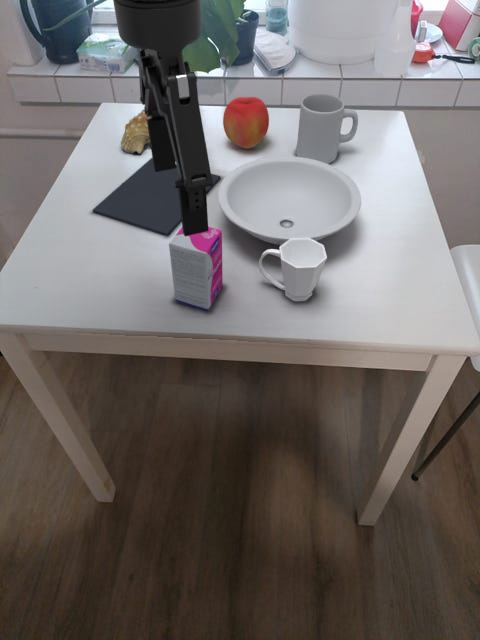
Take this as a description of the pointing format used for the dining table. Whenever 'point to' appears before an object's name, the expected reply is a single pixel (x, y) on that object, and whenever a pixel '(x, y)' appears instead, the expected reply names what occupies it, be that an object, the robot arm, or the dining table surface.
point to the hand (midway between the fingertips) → (179, 198)
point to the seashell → (136, 134)
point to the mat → (147, 200)
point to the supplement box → (197, 267)
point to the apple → (246, 121)
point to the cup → (298, 267)
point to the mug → (323, 127)
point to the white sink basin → (289, 198)
